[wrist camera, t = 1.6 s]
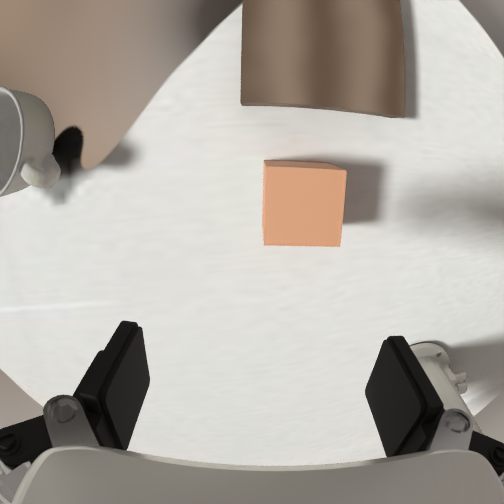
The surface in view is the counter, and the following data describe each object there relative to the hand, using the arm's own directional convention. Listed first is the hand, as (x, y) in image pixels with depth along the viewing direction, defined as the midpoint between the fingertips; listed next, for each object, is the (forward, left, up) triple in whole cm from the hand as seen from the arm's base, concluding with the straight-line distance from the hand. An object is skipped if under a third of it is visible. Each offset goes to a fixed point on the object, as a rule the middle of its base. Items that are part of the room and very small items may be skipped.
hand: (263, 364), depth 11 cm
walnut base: (-5, -18, -20) cm, 27 cm away
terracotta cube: (-3, -3, -20) cm, 20 cm away
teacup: (+24, -9, -20) cm, 32 cm away
